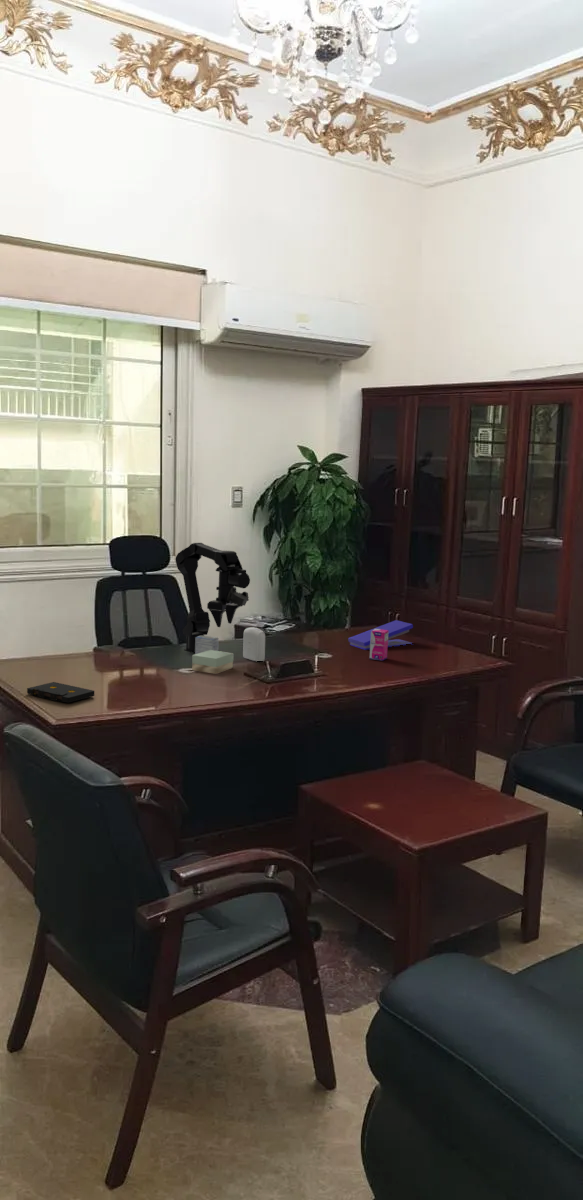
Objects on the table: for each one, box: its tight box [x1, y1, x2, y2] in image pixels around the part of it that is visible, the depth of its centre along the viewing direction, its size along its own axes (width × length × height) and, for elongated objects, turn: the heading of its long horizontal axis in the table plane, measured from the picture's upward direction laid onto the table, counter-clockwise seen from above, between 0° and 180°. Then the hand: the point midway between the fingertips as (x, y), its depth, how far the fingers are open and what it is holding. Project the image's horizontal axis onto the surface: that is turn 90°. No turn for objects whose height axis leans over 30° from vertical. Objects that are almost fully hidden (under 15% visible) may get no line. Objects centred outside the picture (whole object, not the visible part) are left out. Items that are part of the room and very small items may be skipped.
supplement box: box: [369, 628, 389, 662], centre depth 361 cm, size 6×6×12 cm
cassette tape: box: [26, 681, 95, 704], centre depth 289 cm, size 18×12×2 cm, turn 59°
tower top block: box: [191, 650, 235, 667], centre depth 332 cm, size 10×12×3 cm
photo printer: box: [242, 626, 266, 662], centre depth 350 cm, size 10×4×12 cm, turn 39°
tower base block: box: [191, 661, 234, 675], centre depth 332 cm, size 10×12×3 cm
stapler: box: [347, 619, 414, 651], centre depth 388 cm, size 12×28×10 cm, turn 126°
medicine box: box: [194, 635, 220, 655], centre depth 347 cm, size 8×4×9 cm, turn 65°
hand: (224, 625), depth 347 cm, fingers open, 9 cm apart
